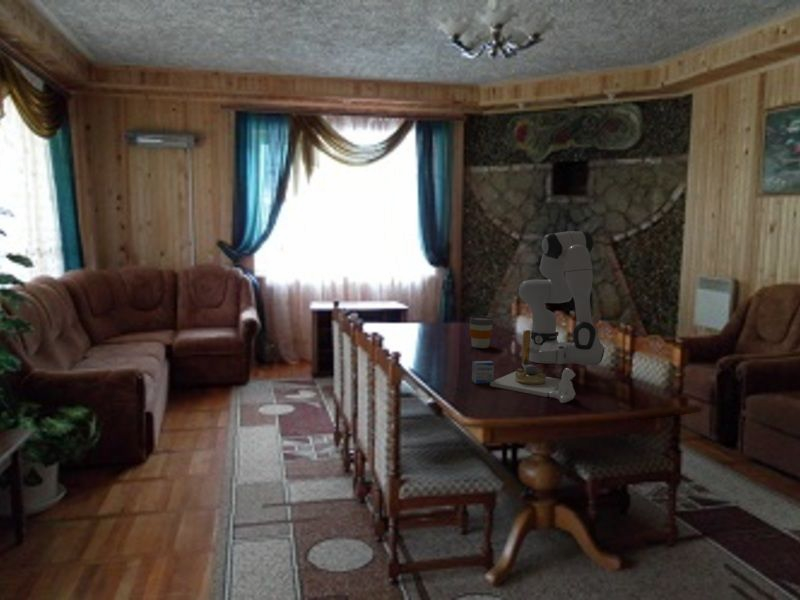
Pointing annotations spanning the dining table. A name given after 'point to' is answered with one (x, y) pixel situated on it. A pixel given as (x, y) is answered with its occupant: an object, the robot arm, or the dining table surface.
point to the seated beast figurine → (564, 387)
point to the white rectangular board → (540, 390)
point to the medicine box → (482, 372)
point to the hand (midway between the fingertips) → (529, 349)
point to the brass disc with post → (521, 373)
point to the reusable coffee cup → (480, 331)
